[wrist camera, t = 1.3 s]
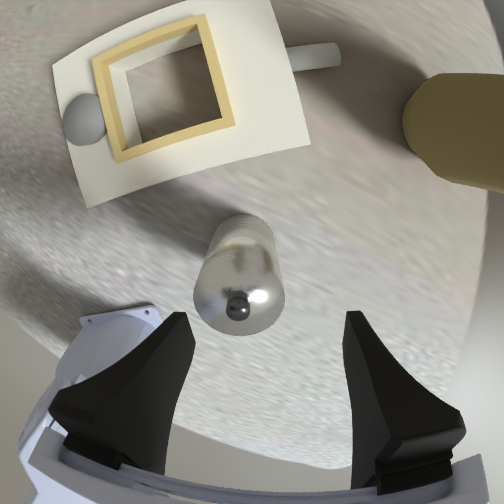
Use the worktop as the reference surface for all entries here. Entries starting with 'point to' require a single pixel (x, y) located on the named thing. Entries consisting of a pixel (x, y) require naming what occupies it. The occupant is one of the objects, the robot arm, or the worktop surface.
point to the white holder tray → (225, 84)
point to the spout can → (240, 278)
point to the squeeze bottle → (459, 128)
